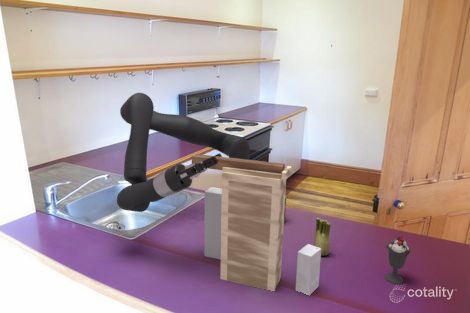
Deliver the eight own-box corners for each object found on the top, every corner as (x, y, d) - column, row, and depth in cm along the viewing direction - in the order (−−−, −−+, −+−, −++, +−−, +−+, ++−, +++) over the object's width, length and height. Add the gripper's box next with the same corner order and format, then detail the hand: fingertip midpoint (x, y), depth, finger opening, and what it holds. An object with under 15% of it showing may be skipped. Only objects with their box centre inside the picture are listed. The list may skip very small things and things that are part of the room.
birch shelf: (229, 267, 108) (231, 159, 101) (284, 279, 102) (291, 166, 95) (220, 278, 102) (221, 165, 94) (278, 293, 96) (285, 172, 88)
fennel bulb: (311, 249, 121) (314, 216, 118) (325, 249, 121) (328, 216, 118) (317, 258, 115) (319, 223, 112) (331, 257, 115) (334, 223, 113)
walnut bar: (196, 164, 103) (196, 154, 102) (284, 174, 94) (284, 163, 93) (191, 166, 100) (191, 156, 99) (281, 177, 91) (282, 166, 90)
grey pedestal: (211, 249, 119) (211, 186, 114) (233, 253, 116) (234, 190, 111) (204, 256, 115) (204, 191, 110) (227, 261, 112) (228, 195, 107)
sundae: (395, 287, 100) (402, 239, 96) (377, 275, 106) (383, 229, 102) (412, 282, 102) (419, 235, 99) (393, 271, 108) (399, 225, 105)
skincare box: (305, 281, 102) (308, 243, 99) (318, 287, 99) (322, 248, 97) (294, 290, 97) (297, 251, 95) (308, 297, 95) (311, 256, 92)
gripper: (153, 175, 99) (201, 150, 92) (178, 164, 112) (222, 141, 104) (165, 199, 99) (214, 176, 92) (189, 185, 112) (234, 164, 105)
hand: (218, 157), depth 98 cm, fingers closed on walnut bar, 3 cm apart
